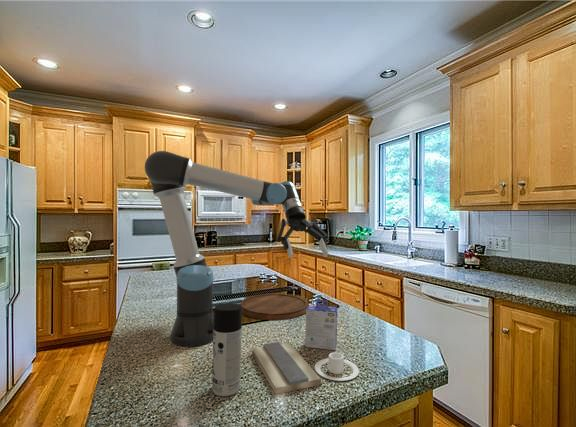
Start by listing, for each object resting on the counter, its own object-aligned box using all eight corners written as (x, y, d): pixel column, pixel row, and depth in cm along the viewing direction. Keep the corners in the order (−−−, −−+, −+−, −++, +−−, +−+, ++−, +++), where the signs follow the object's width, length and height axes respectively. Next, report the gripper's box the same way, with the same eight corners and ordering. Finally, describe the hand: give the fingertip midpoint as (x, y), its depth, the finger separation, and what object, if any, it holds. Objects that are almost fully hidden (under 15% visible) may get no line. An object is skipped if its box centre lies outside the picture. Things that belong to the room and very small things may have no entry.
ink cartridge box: (337, 343, 100) (337, 299, 100) (336, 351, 95) (337, 304, 95) (307, 340, 102) (308, 297, 102) (304, 347, 97) (305, 302, 97)
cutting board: (321, 305, 142) (321, 300, 142) (284, 327, 115) (284, 320, 115) (266, 294, 159) (266, 289, 159) (222, 311, 132) (222, 305, 132)
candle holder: (338, 356, 92) (338, 342, 92) (368, 375, 82) (368, 359, 82) (305, 367, 85) (306, 351, 85) (334, 388, 75) (334, 371, 75)
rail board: (275, 394, 72) (275, 384, 72) (252, 353, 92) (252, 345, 92) (321, 384, 76) (321, 375, 76) (288, 347, 96) (289, 340, 96)
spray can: (214, 381, 76) (215, 302, 76) (241, 381, 77) (242, 302, 77) (209, 398, 70) (211, 311, 70) (239, 397, 70) (241, 311, 70)
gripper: (266, 204, 114) (278, 249, 101) (325, 206, 123) (343, 248, 110) (262, 218, 119) (273, 263, 106) (318, 218, 128) (336, 260, 115)
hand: (309, 255), depth 108 cm, fingers open, 13 cm apart
